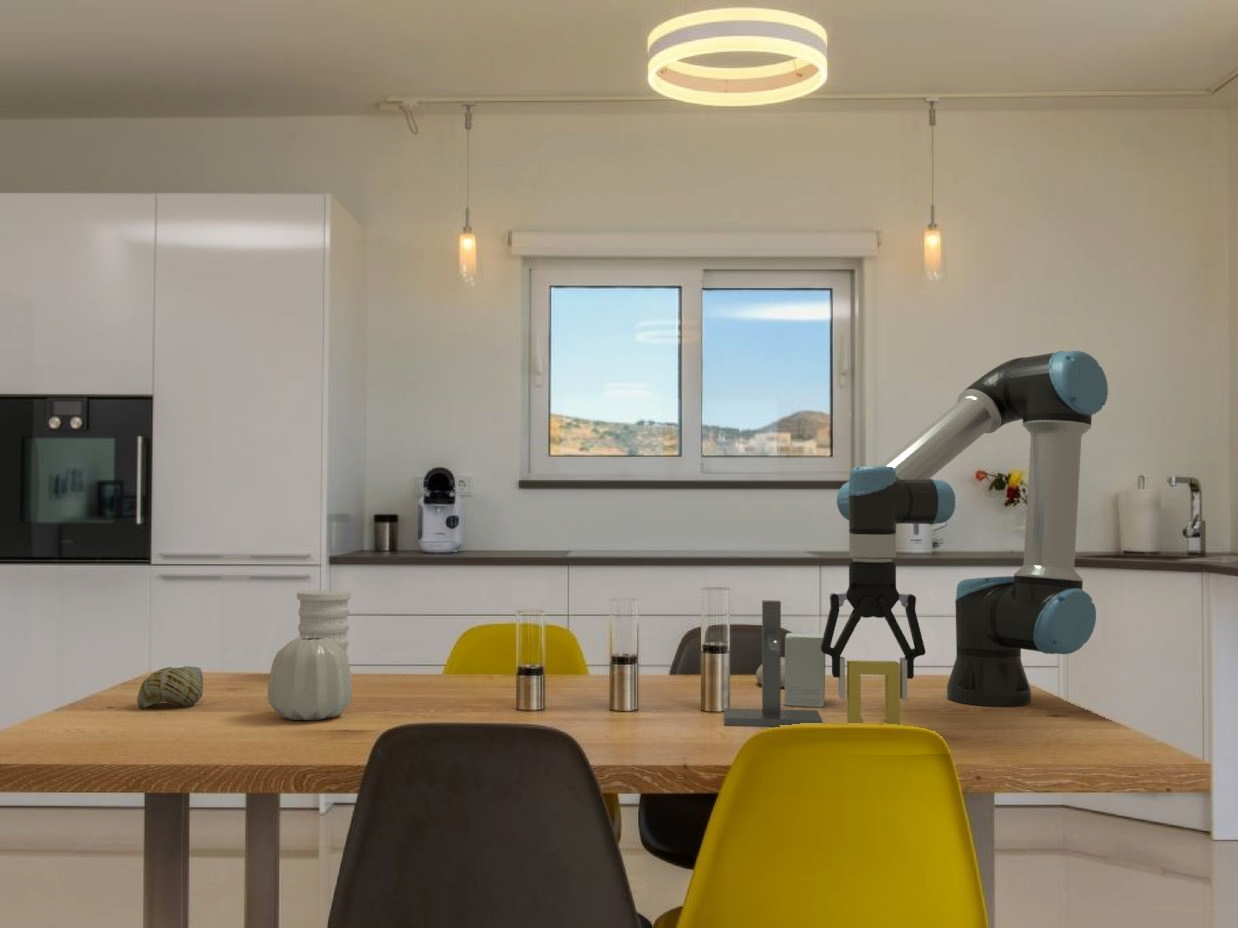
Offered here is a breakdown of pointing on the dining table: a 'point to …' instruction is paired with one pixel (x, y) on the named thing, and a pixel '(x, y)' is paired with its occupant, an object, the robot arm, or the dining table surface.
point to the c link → (891, 688)
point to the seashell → (172, 687)
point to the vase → (310, 680)
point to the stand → (770, 681)
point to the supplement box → (804, 670)
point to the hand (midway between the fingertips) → (872, 698)
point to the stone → (759, 673)
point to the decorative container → (325, 615)
